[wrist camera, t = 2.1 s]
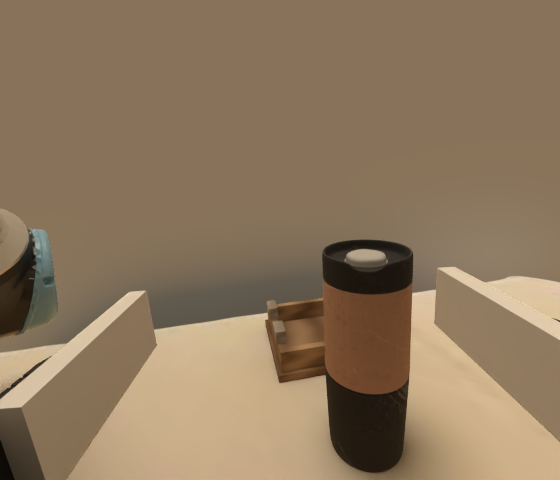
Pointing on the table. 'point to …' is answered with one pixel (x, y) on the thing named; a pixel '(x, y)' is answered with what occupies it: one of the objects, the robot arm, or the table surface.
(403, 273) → the travel mug
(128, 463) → the table surface
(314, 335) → the tray
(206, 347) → the table surface
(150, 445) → the table surface
